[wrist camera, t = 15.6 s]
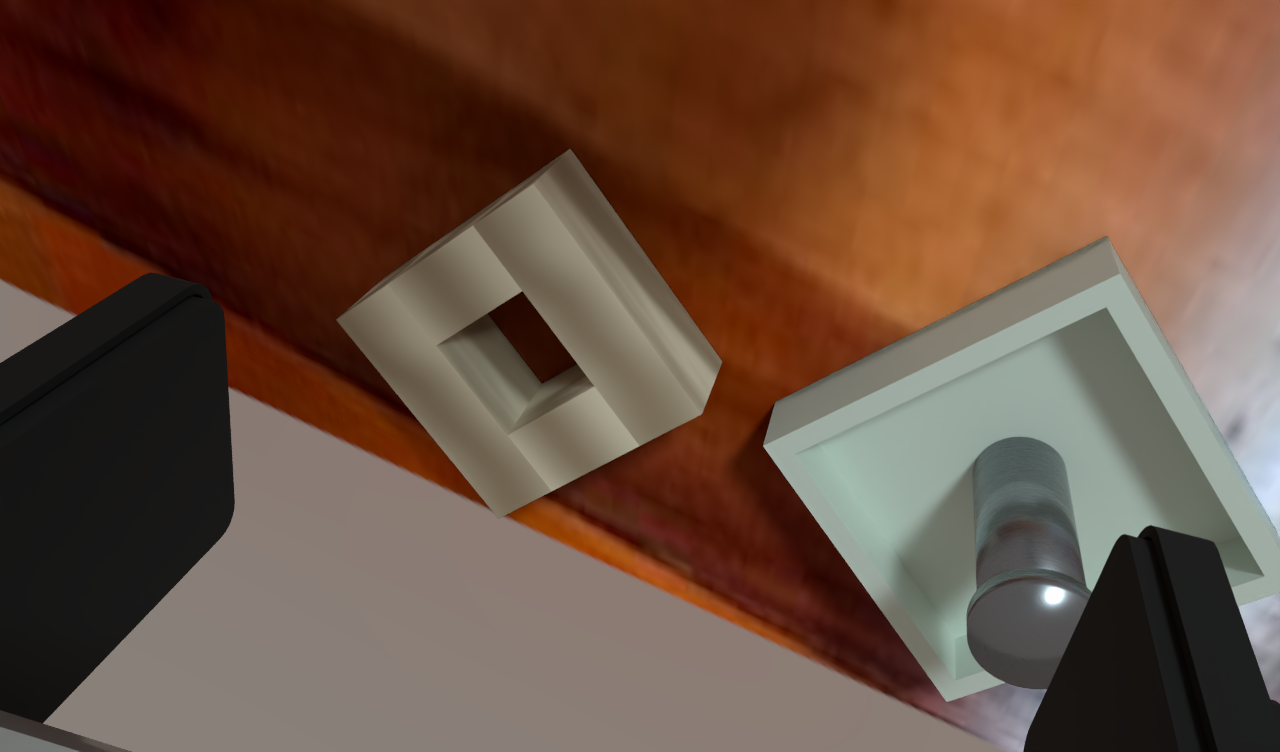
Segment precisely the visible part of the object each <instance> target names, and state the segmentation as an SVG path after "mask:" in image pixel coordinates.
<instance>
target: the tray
mask: <svg viewBox="0 0 1280 752" xmlns="http://www.w3.org/2000/svg"><path fill="white" fill-rule="evenodd" d="M1010 437H1029V438H1034V439H1037V440H1040V441H1042V442H1045V443H1046V444H1048V445H1050V446H1051V447H1052V448H1054V449H1055V450H1056V451H1057V452H1058V453H1059V454H1060V456H1061V457H1062V459H1063V461H1064V463H1065V466H1066V470H1067V476H1068V482H1069V488H1070V494H1071V499H1072V505H1073V511H1074V517H1075V523H1076V529H1077V534H1078V540H1079V546H1080V552H1081V558H1082V563H1083V569H1084V575H1085V581H1086V587H1087V588H1088V589H1089V590H1090V591H1091V592H1092V591H1093V589H1094V587H1095V585H1096V583H1097V580H1098V578H1099V576H1100V574H1101V572H1102V570H1103V567H1104V565H1105V563H1106V561H1107V559H1108V557H1109V554H1110V552H1111V550H1112V548H1113V546H1114V544H1115V542H1116V541H1117V539H1118V538H1119V537H1120V536H1121V535H1123V534H1126V535H1130V536H1134V537H1138V535H1139V534H1140V532H1141V531H1142V530H1143V529H1144V528H1145V527H1147V526H1149V525H1152V526H1156V527H1160V528H1164V529H1168V530H1172V531H1176V532H1180V533H1184V534H1188V535H1192V536H1196V537H1200V538H1204V539H1207V540H1210V541H1212V542H1214V543H1215V545H1216V547H1217V548H1218V551H1219V554H1220V557H1221V560H1222V562H1223V565H1224V568H1225V571H1226V574H1227V577H1228V580H1229V583H1230V585H1231V588H1232V591H1233V594H1234V597H1235V600H1236V603H1237V606H1241V605H1244V604H1247V603H1250V602H1253V601H1256V600H1259V599H1262V598H1265V597H1268V596H1271V595H1274V594H1277V593H1280V538H1279V536H1278V533H1277V531H1276V529H1275V527H1274V525H1273V524H1272V522H1271V520H1270V519H1269V517H1268V515H1267V513H1266V512H1265V510H1264V508H1263V506H1262V505H1261V503H1260V501H1259V499H1258V498H1257V496H1256V494H1255V492H1254V491H1253V489H1252V487H1251V486H1250V484H1249V482H1248V480H1247V479H1246V477H1245V475H1244V473H1243V472H1242V470H1241V468H1240V466H1239V465H1238V463H1237V461H1236V460H1235V458H1234V456H1233V454H1232V453H1231V451H1230V449H1229V447H1228V446H1227V444H1226V442H1225V440H1224V439H1223V437H1222V435H1221V434H1220V432H1219V430H1218V428H1217V427H1216V425H1215V423H1214V421H1213V420H1212V418H1211V416H1210V414H1209V413H1208V411H1207V409H1206V408H1205V406H1204V404H1203V402H1202V401H1201V399H1200V397H1199V395H1198V394H1197V392H1196V390H1195V388H1194V387H1193V385H1192V383H1191V381H1190V380H1189V378H1188V376H1187V375H1186V373H1185V371H1184V369H1183V368H1182V366H1181V364H1180V362H1179V361H1178V359H1177V357H1176V355H1175V354H1174V352H1173V350H1172V349H1171V347H1170V345H1169V343H1168V342H1167V340H1166V338H1165V336H1164V335H1163V333H1162V331H1161V329H1160V328H1159V326H1158V324H1157V323H1156V321H1155V319H1154V317H1153V316H1152V314H1151V312H1150V310H1149V309H1148V307H1147V305H1146V303H1145V302H1144V300H1143V298H1142V296H1141V295H1140V293H1139V291H1138V290H1137V288H1136V286H1135V284H1134V283H1133V281H1132V279H1131V277H1130V276H1129V274H1128V272H1127V270H1126V269H1125V267H1124V265H1123V264H1122V262H1121V260H1120V258H1119V257H1118V255H1117V253H1116V251H1115V250H1114V248H1113V246H1112V244H1111V243H1110V241H1109V239H1108V238H1107V236H1106V237H1104V238H1102V239H1100V240H1098V241H1096V242H1094V243H1092V244H1090V245H1088V246H1086V247H1084V248H1082V249H1080V250H1078V251H1076V252H1074V253H1072V254H1070V255H1068V256H1066V257H1064V258H1062V259H1060V260H1058V261H1056V262H1054V263H1052V264H1050V265H1048V266H1046V267H1044V268H1042V269H1040V270H1038V271H1036V272H1034V273H1032V274H1030V275H1028V276H1026V277H1024V278H1022V279H1020V280H1018V281H1016V282H1014V283H1012V284H1010V285H1008V286H1006V287H1004V288H1002V289H1000V290H998V291H996V292H994V293H992V294H990V295H988V296H986V297H984V298H982V299H980V300H978V301H976V302H974V303H972V304H970V305H968V306H966V307H964V308H962V309H960V310H958V311H956V312H954V313H952V314H950V315H948V316H946V317H944V318H942V319H940V320H938V321H936V322H934V323H932V324H930V325H928V326H926V327H924V328H922V329H920V330H918V331H916V332H914V333H912V334H910V335H908V336H906V337H904V338H902V339H900V340H898V341H896V342H894V343H892V344H890V345H888V346H886V347H884V348H882V349H881V350H879V351H877V352H875V353H873V354H871V355H869V356H867V357H865V358H863V359H861V360H859V361H857V362H855V363H853V364H851V365H849V366H847V367H845V368H843V369H841V370H839V371H837V372H835V373H833V374H831V375H829V376H827V377H825V378H823V379H821V380H819V381H817V382H815V383H813V384H811V385H809V386H807V387H805V388H803V389H801V390H799V391H797V392H795V393H793V394H791V395H789V396H787V397H785V398H783V399H781V400H779V401H777V402H775V405H774V408H773V412H772V415H771V419H770V423H769V426H768V430H767V433H766V437H765V440H764V444H763V447H764V448H765V450H766V451H767V452H768V454H769V455H770V457H771V458H772V459H773V461H774V462H775V464H776V465H777V466H778V468H779V469H780V471H781V472H782V473H783V475H784V476H785V477H786V479H787V480H788V482H789V483H790V484H791V486H792V487H793V489H794V490H795V491H796V493H797V494H798V496H799V497H800V498H801V500H802V501H803V503H804V504H805V505H806V507H807V508H808V509H809V511H810V512H811V514H812V515H813V516H814V518H815V519H816V521H817V522H818V523H819V525H820V526H821V528H822V529H823V530H824V532H825V533H826V535H827V536H828V537H829V539H830V540H831V541H832V543H833V544H834V546H835V547H836V548H837V550H838V551H839V553H840V554H841V555H842V557H843V558H844V560H845V561H846V562H847V564H848V565H849V567H850V568H851V569H852V571H853V572H854V574H855V575H856V576H857V578H858V579H859V580H860V582H861V583H862V585H863V586H864V587H865V589H866V590H867V592H868V593H869V594H870V596H871V597H872V599H873V600H874V601H875V603H876V604H877V606H878V607H879V608H880V610H881V611H882V612H883V614H884V615H885V617H886V618H887V619H888V621H889V622H890V624H891V625H892V626H893V628H894V629H895V631H896V632H897V633H898V635H899V636H900V638H901V639H902V640H903V642H904V643H905V644H906V646H907V647H908V649H909V650H910V651H911V653H912V654H913V656H914V657H915V658H916V660H917V661H918V663H919V664H920V665H921V667H922V668H923V670H924V671H925V672H926V674H927V675H928V677H929V678H930V679H931V681H932V682H933V683H934V685H935V686H936V688H937V689H938V690H939V692H940V693H941V695H942V696H943V697H944V699H945V700H946V702H948V701H951V700H954V699H957V698H960V697H963V696H966V695H969V694H972V693H976V692H979V691H982V690H985V689H988V688H991V687H994V686H997V685H1000V684H1003V683H1006V682H1003V681H1001V680H999V679H997V678H995V677H994V676H992V675H991V674H989V673H988V672H987V671H985V670H984V669H983V668H982V667H981V666H980V665H979V664H978V663H977V661H976V660H975V659H974V657H973V655H972V654H971V651H970V649H969V646H968V642H967V623H966V615H967V608H968V605H969V602H970V600H971V598H972V596H973V595H974V593H975V592H976V591H977V588H976V560H975V531H974V503H973V474H972V473H973V467H974V464H975V461H976V459H977V458H978V456H979V455H980V454H981V452H982V451H983V450H984V449H986V448H987V447H988V446H990V445H991V444H993V443H995V442H997V441H999V440H1002V439H1006V438H1010Z"/></svg>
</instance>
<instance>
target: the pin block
mask: <svg viewBox="0 0 1280 752" xmlns="http://www.w3.org/2000/svg"><path fill="white" fill-rule="evenodd" d="M522 291H523V292H524V294H525V295H526V296H527V298H528V299H529V300H530V302H531V303H532V304H533V306H534V307H535V308H536V310H537V311H538V312H539V314H540V315H541V316H542V318H543V319H544V320H545V322H546V323H547V324H548V326H549V327H550V328H551V329H552V331H553V332H554V333H555V335H556V336H557V337H558V339H559V340H560V341H561V343H562V344H563V345H564V347H565V348H566V349H567V351H568V352H569V353H570V355H571V356H572V357H573V359H574V360H575V361H576V363H577V364H576V365H574V366H573V367H571V368H569V369H567V370H566V371H564V372H562V373H560V374H559V375H557V376H555V377H554V378H552V379H550V380H548V381H547V382H545V383H543V384H542V383H541V382H540V381H539V380H538V378H537V377H536V376H535V374H534V373H533V372H532V371H531V369H530V368H529V367H528V365H527V364H526V363H525V361H524V360H523V359H522V358H521V356H520V355H519V354H518V352H517V351H516V350H515V348H514V347H513V346H512V345H511V343H510V342H509V341H508V339H507V338H506V337H505V336H504V334H503V333H502V332H501V330H500V329H499V328H498V326H497V325H496V324H495V323H494V321H493V320H492V319H491V317H490V316H489V315H488V312H490V311H492V310H493V309H495V308H496V307H498V306H499V305H501V304H503V303H504V302H506V301H507V300H509V299H511V298H512V297H514V296H515V295H517V294H518V293H520V292H522ZM337 321H338V323H339V324H340V325H341V326H342V328H343V329H344V330H345V331H346V332H347V334H348V335H349V336H350V337H351V339H352V340H353V341H354V342H355V343H356V345H357V346H358V347H359V348H360V350H361V351H362V352H363V353H364V354H365V356H366V357H367V358H368V359H369V361H370V362H371V363H372V364H373V366H374V367H375V368H376V369H377V370H378V372H379V373H380V374H381V375H382V377H383V378H384V379H385V380H386V381H387V383H388V384H389V385H390V386H391V388H392V389H393V390H394V391H395V392H396V394H397V395H398V396H399V397H400V399H401V400H402V401H403V402H404V403H405V405H406V406H407V407H408V408H409V410H410V411H411V412H412V413H413V414H414V416H415V417H416V418H417V419H418V421H419V422H420V423H421V424H422V425H423V427H424V428H425V429H426V430H427V432H428V433H429V434H430V435H431V436H432V438H433V439H434V440H435V441H436V443H437V444H438V445H439V446H440V447H441V449H442V450H443V451H444V452H445V454H446V455H447V456H448V457H449V459H450V460H451V461H452V462H453V463H454V465H455V466H456V467H457V468H458V470H459V471H460V472H461V473H462V474H463V476H464V477H465V478H466V479H467V481H468V482H469V483H470V484H471V485H472V487H473V488H474V489H475V490H476V492H477V493H478V494H479V495H480V496H481V498H482V499H483V500H484V501H485V503H486V504H487V505H488V506H489V507H490V509H491V510H492V511H493V512H494V514H495V515H496V516H497V517H498V518H501V517H503V516H505V515H507V514H509V513H511V512H512V511H514V510H516V509H518V508H520V507H522V506H524V505H526V504H528V503H530V502H532V501H534V500H536V499H538V498H540V497H542V496H544V495H546V494H547V493H549V492H551V491H553V490H555V489H557V488H559V487H561V486H563V485H565V484H567V483H569V482H571V481H573V480H575V479H577V478H579V477H581V476H582V475H584V474H586V473H588V472H590V471H592V470H594V469H596V468H598V467H600V466H602V465H604V464H606V463H608V462H610V461H612V460H614V459H616V458H617V457H619V456H621V455H623V454H625V453H627V452H629V451H631V450H633V449H635V448H637V447H639V446H641V445H643V444H645V443H647V442H649V441H651V440H652V439H654V438H656V437H658V436H660V435H662V434H664V433H666V432H668V431H670V430H672V429H674V428H676V427H678V426H680V425H682V424H684V423H685V422H687V421H689V420H691V419H693V418H695V417H697V416H699V415H701V414H702V412H703V410H704V407H705V405H706V402H707V400H708V397H709V394H710V392H711V389H712V387H713V384H714V382H715V379H716V377H717V374H718V371H719V369H720V366H721V364H722V361H721V359H720V358H719V356H718V355H717V354H716V352H715V351H714V349H713V348H712V347H711V345H710V344H709V342H708V341H707V340H706V338H705V337H704V335H703V334H702V333H701V331H700V330H699V328H698V327H697V326H696V324H695V323H694V321H693V320H692V319H691V317H690V316H689V314H688V313H687V312H686V310H685V309H684V307H683V306H682V305H681V303H680V302H679V300H678V299H677V298H676V296H675V295H674V293H673V292H672V291H671V289H670V288H669V286H668V285H667V284H666V282H665V281H664V279H663V278H662V276H661V275H660V274H659V272H658V271H657V269H656V268H655V267H654V265H653V264H652V262H651V261H650V260H649V258H648V257H647V255H646V254H645V253H644V251H643V250H642V248H641V247H640V246H639V244H638V243H637V241H636V240H635V239H634V237H633V236H632V234H631V233H630V232H629V230H628V229H627V227H626V226H625V225H624V223H623V222H622V220H621V219H620V218H619V216H618V215H617V213H616V212H615V211H614V209H613V208H612V206H611V205H610V204H609V202H608V201H607V199H606V198H605V196H604V195H603V194H602V192H601V191H600V189H599V188H598V187H597V185H596V184H595V182H594V181H593V180H592V178H591V177H590V175H589V174H588V173H587V171H586V170H585V168H584V167H583V166H582V164H581V163H580V161H579V160H578V159H577V157H576V156H575V154H574V153H573V152H572V150H571V149H569V150H567V151H566V152H564V153H563V154H562V155H560V156H559V157H557V158H556V159H554V160H553V161H551V162H550V163H549V164H547V165H546V166H544V167H543V168H541V169H540V170H539V171H537V172H536V173H534V174H533V175H531V176H530V177H528V178H527V179H526V180H524V181H523V182H521V183H520V184H518V185H517V186H516V187H514V188H513V189H511V190H510V191H508V192H507V193H505V194H504V195H503V196H501V197H500V198H498V199H497V200H495V201H494V202H493V203H491V204H490V205H488V206H487V207H485V208H484V209H482V210H481V211H480V212H478V213H477V214H475V215H474V216H472V217H471V218H470V219H468V220H467V221H465V222H464V223H462V224H461V225H459V226H458V227H457V228H455V229H454V230H452V231H451V232H449V233H448V234H446V235H445V236H444V237H442V238H441V239H439V240H438V241H436V242H435V243H434V244H432V245H431V246H429V247H428V248H426V249H425V250H423V251H422V252H421V253H419V254H418V255H416V256H415V257H413V258H412V259H411V260H409V261H408V262H406V263H405V264H403V265H402V266H400V267H399V268H398V269H396V270H395V271H393V272H392V273H390V274H389V275H388V276H386V277H385V278H384V279H382V280H381V281H380V282H379V283H378V284H377V285H376V286H374V287H373V288H372V289H371V290H370V291H369V292H368V293H366V294H365V295H364V296H363V297H362V298H361V299H359V300H358V301H357V302H356V303H355V304H354V305H353V306H351V307H350V308H349V309H348V310H347V311H346V312H345V313H343V314H342V315H341V316H340V317H339V318H338V319H337Z"/></svg>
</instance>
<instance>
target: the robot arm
mask: <svg viewBox="0 0 1280 752" xmlns="http://www.w3.org/2000/svg"><path fill="white" fill-rule="evenodd" d="M234 501H235V500H234V482H233V464H232V446H231V429H230V410H229V393H228V374H227V356H226V339H225V321H224V313H223V310H222V308H221V306H220V305H219V304H218V303H217V302H214V301H212V296H211V294H210V292H209V290H208V289H207V288H206V287H205V286H203V285H201V284H197V283H193V282H189V281H185V280H182V279H178V278H174V277H170V276H166V275H162V274H158V273H148V274H145V275H143V276H141V277H139V278H138V279H136V280H134V281H133V282H131V283H130V284H128V285H126V286H125V287H123V288H121V289H120V290H118V291H117V292H115V293H113V294H112V295H110V296H108V297H107V298H105V299H104V300H102V301H100V302H99V303H97V304H95V305H94V306H92V307H91V308H89V309H87V310H86V311H84V312H83V313H81V314H79V315H78V316H76V317H74V318H73V319H71V320H70V321H68V322H66V323H65V324H63V325H61V326H60V327H58V328H57V329H55V330H54V331H52V332H50V333H48V334H47V335H45V336H44V337H42V338H40V339H39V340H37V341H36V342H34V343H32V344H31V345H29V346H27V347H26V348H24V349H22V350H21V351H20V352H18V353H16V354H14V355H13V356H11V357H10V358H8V359H6V360H5V361H3V362H1V363H0V752H131V751H128V750H124V749H121V748H118V747H115V746H112V745H108V744H105V743H102V742H99V741H96V740H93V739H90V738H86V737H83V736H80V735H77V734H74V733H71V732H67V731H64V730H61V729H58V728H55V727H52V726H48V725H45V724H43V722H44V721H45V720H46V719H47V718H48V717H49V716H50V715H51V714H52V713H53V712H54V711H55V710H56V709H57V708H58V707H59V706H60V705H61V704H62V703H63V702H64V701H65V700H66V698H67V697H68V696H69V695H70V694H71V693H72V692H73V691H74V690H75V689H76V688H77V687H78V686H79V685H80V684H81V683H82V682H83V681H84V680H85V679H86V678H87V677H88V676H89V675H90V673H91V672H92V671H93V670H94V669H95V668H96V667H97V666H98V665H99V664H100V663H101V662H102V661H103V660H104V659H105V658H106V657H107V656H108V655H109V654H110V653H111V652H112V651H113V650H114V649H115V647H116V646H117V645H118V644H119V643H120V642H121V641H122V640H123V639H124V638H125V637H126V636H127V635H128V634H129V633H130V632H131V631H132V630H133V629H134V628H135V627H136V625H138V624H139V622H140V621H141V620H142V619H143V618H144V617H145V616H146V615H147V614H148V613H149V612H150V611H151V610H152V609H153V608H154V607H155V606H156V605H157V604H158V603H159V602H160V601H161V600H162V598H163V597H164V596H165V595H166V594H167V593H168V592H169V591H170V590H171V589H172V588H173V587H174V586H175V585H176V584H177V583H178V582H179V581H180V580H181V579H182V578H183V576H185V575H186V574H187V573H188V571H189V570H190V569H191V568H192V567H193V566H194V565H195V564H196V563H197V562H198V561H199V560H200V559H201V558H202V557H203V556H204V555H205V554H206V553H207V552H208V551H209V550H210V549H211V548H212V546H213V545H214V544H215V543H216V542H217V541H218V540H219V539H220V538H221V537H222V536H223V534H224V533H225V532H226V530H227V528H228V526H229V524H230V522H231V519H232V516H233V512H234V503H235V502H234ZM1024 752H1280V704H1279V703H1278V702H1276V701H1274V700H1270V698H1269V695H1268V692H1267V689H1266V686H1265V683H1264V680H1263V677H1262V675H1261V672H1260V669H1259V666H1258V663H1257V660H1256V657H1255V654H1254V652H1253V649H1252V646H1251V643H1250V640H1249V637H1248V634H1247V631H1246V629H1245V626H1244V623H1243V620H1242V617H1241V614H1240V611H1239V608H1238V606H1237V603H1236V600H1235V597H1234V594H1233V591H1232V588H1231V585H1230V583H1229V580H1228V577H1227V574H1226V571H1225V568H1224V565H1223V562H1222V560H1221V557H1220V554H1219V551H1218V548H1217V547H1216V545H1215V543H1214V542H1212V541H1210V540H1207V539H1204V538H1200V537H1196V536H1192V535H1188V534H1184V533H1180V532H1176V531H1172V530H1168V529H1164V528H1160V527H1156V526H1152V525H1149V526H1147V527H1145V528H1144V529H1143V530H1142V531H1141V532H1140V534H1139V535H1138V537H1134V536H1130V535H1126V534H1123V535H1121V536H1120V537H1119V538H1118V539H1117V541H1116V542H1115V544H1114V546H1113V548H1112V550H1111V552H1110V554H1109V557H1108V559H1107V561H1106V563H1105V565H1104V567H1103V570H1102V572H1101V574H1100V576H1099V578H1098V580H1097V583H1096V585H1095V587H1094V589H1093V591H1092V593H1091V596H1090V598H1089V600H1088V602H1087V604H1086V606H1085V609H1084V611H1083V613H1082V615H1081V617H1080V620H1079V622H1078V624H1077V626H1076V628H1075V630H1074V633H1073V635H1072V637H1071V639H1070V641H1069V643H1068V646H1067V648H1066V650H1065V652H1064V654H1063V656H1062V659H1061V661H1060V663H1059V665H1058V667H1057V669H1056V672H1055V674H1054V676H1053V678H1052V680H1051V682H1050V685H1049V687H1048V689H1047V691H1046V693H1045V695H1044V698H1043V700H1042V702H1041V704H1040V706H1039V708H1038V711H1037V713H1036V715H1035V717H1034V719H1033V721H1032V724H1031V726H1030V728H1029V731H1028V734H1027V737H1026V741H1025V746H1024Z"/></svg>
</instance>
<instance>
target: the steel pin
mask: <svg viewBox="0 0 1280 752" xmlns="http://www.w3.org/2000/svg"><path fill="white" fill-rule="evenodd" d="M972 474H973V503H974V531H975V560H976V588H977V591H976V592H975V593H974V595H973V596H972V598H971V600H970V602H969V605H968V608H967V615H966V623H967V642H968V646H969V649H970V651H971V654H972V655H973V657H974V659H975V660H976V661H977V663H978V664H979V665H980V666H981V667H982V668H983V669H984V670H985V671H987V672H988V673H989V674H991V675H992V676H994V677H995V678H997V679H999V680H1001V681H1003V682H1006V683H1008V684H1011V685H1014V686H1018V687H1023V688H1030V689H1048V687H1049V685H1050V682H1051V680H1052V678H1053V676H1054V674H1055V672H1056V669H1057V667H1058V665H1059V663H1060V661H1061V659H1062V656H1063V654H1064V652H1065V650H1066V648H1067V646H1068V643H1069V641H1070V639H1071V637H1072V635H1073V633H1074V630H1075V628H1076V626H1077V624H1078V622H1079V620H1080V617H1081V615H1082V613H1083V611H1084V609H1085V606H1086V604H1087V602H1088V600H1089V598H1090V596H1091V593H1092V592H1091V591H1090V590H1089V589H1088V588H1087V587H1086V581H1085V575H1084V569H1083V563H1082V558H1081V552H1080V546H1079V540H1078V534H1077V529H1076V523H1075V517H1074V511H1073V505H1072V499H1071V494H1070V488H1069V482H1068V476H1067V470H1066V466H1065V463H1064V461H1063V459H1062V457H1061V456H1060V454H1059V453H1058V452H1057V451H1056V450H1055V449H1054V448H1052V447H1051V446H1050V445H1048V444H1046V443H1045V442H1042V441H1040V440H1037V439H1034V438H1029V437H1010V438H1006V439H1002V440H999V441H997V442H995V443H993V444H991V445H990V446H988V447H987V448H986V449H984V450H983V451H982V452H981V454H980V455H979V456H978V458H977V459H976V461H975V464H974V467H973V473H972Z"/></svg>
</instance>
